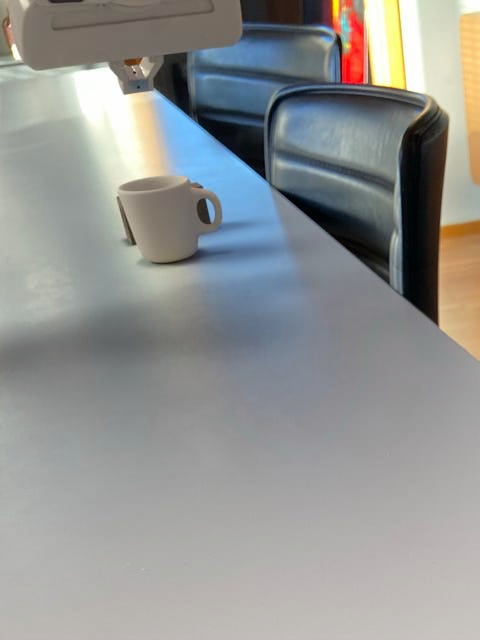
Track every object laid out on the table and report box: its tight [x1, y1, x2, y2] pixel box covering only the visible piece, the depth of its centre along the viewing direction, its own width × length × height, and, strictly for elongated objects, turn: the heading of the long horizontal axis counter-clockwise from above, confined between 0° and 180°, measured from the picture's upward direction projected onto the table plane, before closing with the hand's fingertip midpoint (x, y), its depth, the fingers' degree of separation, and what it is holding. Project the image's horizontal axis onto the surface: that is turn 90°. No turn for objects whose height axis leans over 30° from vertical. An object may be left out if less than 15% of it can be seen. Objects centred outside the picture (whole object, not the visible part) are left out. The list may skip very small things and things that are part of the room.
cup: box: [116, 174, 223, 264], centre depth 115 cm, size 11×8×8 cm
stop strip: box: [115, 181, 212, 245], centre depth 125 cm, size 10×3×5 cm, turn 117°
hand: (136, 88), depth 98 cm, fingers closed
